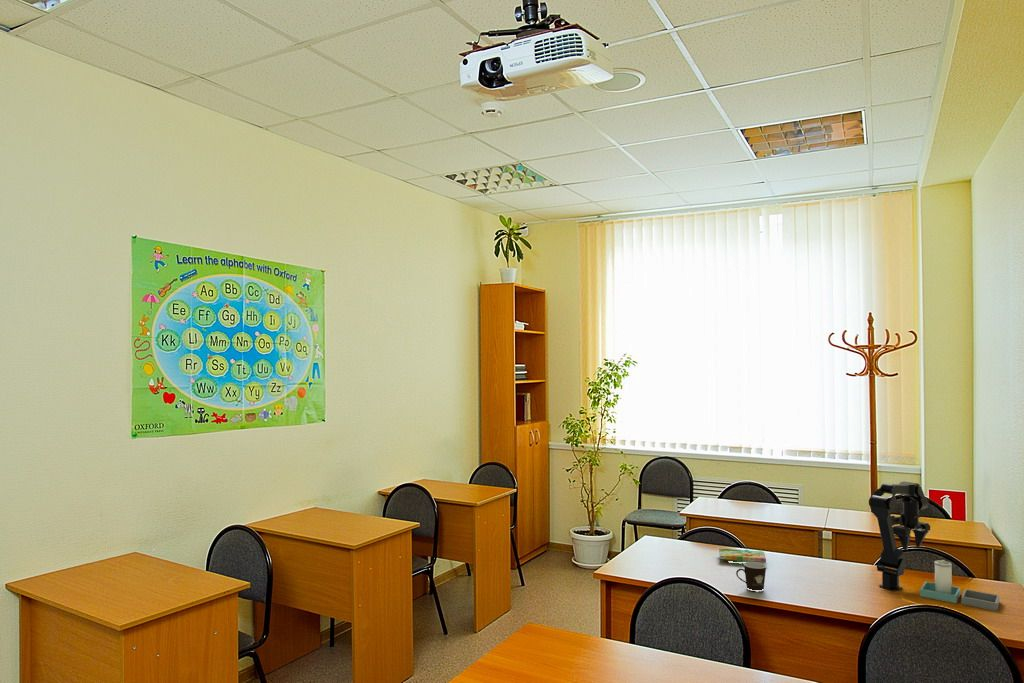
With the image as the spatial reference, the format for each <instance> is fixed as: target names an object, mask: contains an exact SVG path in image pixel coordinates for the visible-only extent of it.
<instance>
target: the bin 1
mask: <svg viewBox="0 0 1024 683" xmlns="http://www.w3.org/2000/svg"><path fill="white" fill-rule="evenodd" d="M961 593H962V591H961V587H959V586H953V585H952V595H950V594H945V593H939V592H935V582H931V581H924V582H923V584H922V586H921V587H920V589H919V594H920V595H919V596H920V597H922V598H927V599H932V600H937V601H943V602H947V603H952V604H957V603H958V602H959V599H960V596H962V595H961Z"/></svg>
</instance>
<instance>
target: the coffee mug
mask: <svg viewBox="0 0 1024 683" xmlns="http://www.w3.org/2000/svg"><path fill="white" fill-rule="evenodd" d="M743 567H744V569H743V568H738V569H737V570H736V572H735V573H736V574H735V575H736V577H737V578H738V579H739V580H740V581H741V582H743V583H745V584H746V589H747V588H749V589H752V590H762V589H764V588H765V580H766V572H767V565H766V563H765V564H762V563H758V562H746V563H744V564H743ZM740 571H742V572H744V576H745V580H744V579H742V578H741V577H740V576H739V574H738V573H739V572H740Z"/></svg>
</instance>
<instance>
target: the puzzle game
mask: <svg viewBox="0 0 1024 683" xmlns="http://www.w3.org/2000/svg"><path fill="white" fill-rule="evenodd" d="M718 550H719V552H718V553H719V559H721V560H726V561H727V562H728V561H733V562H758V563H762V564H765V565H766V562H767V558H766V554H765V552H764V550H763V551H761V550H749V549H733V548H732V549H731V548H719V549H718Z"/></svg>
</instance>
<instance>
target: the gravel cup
mask: <svg viewBox="0 0 1024 683" xmlns="http://www.w3.org/2000/svg"><path fill="white" fill-rule="evenodd" d="M933 563H934V583H935V592H939V593H945V594H950V595H952V586H953V585H952V583H953V580H952V579H953V576H952V574H953V573H952V570H953V568H952V567H953V565H952V562H950V561H946V560H945V559H941V560H935V561H934V562H933Z"/></svg>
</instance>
